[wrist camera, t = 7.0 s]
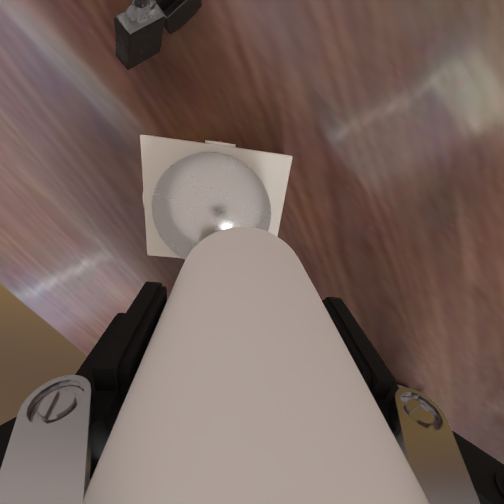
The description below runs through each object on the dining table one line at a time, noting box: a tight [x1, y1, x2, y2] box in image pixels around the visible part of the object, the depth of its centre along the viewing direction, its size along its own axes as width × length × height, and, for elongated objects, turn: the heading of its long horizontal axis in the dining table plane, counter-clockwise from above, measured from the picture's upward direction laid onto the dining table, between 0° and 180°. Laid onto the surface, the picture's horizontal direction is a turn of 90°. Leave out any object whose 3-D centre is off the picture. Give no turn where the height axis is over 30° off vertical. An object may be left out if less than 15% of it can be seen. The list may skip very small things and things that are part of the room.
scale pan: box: [152, 152, 271, 260], centre depth 23 cm, size 11×11×2 cm
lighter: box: [114, 0, 201, 70], centre depth 19 cm, size 8×2×5 cm
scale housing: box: [140, 135, 293, 258], centre depth 26 cm, size 14×12×4 cm
